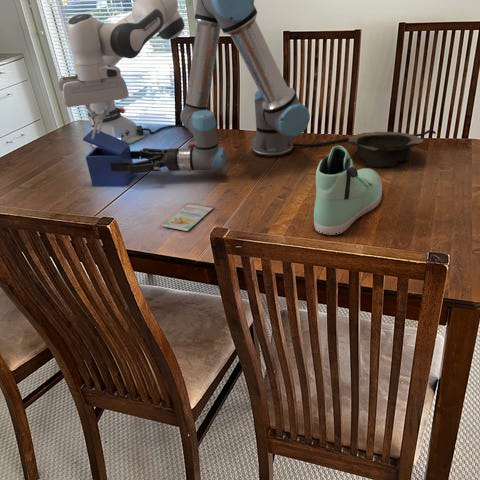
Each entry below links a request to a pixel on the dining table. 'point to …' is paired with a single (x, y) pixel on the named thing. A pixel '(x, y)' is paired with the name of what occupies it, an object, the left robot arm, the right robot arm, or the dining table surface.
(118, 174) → the chest
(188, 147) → the candy cane
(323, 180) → the sneaker
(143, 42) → the left robot arm
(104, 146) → the lid
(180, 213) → the baking ingredient package
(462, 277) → the dining table surface
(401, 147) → the stone bowl
